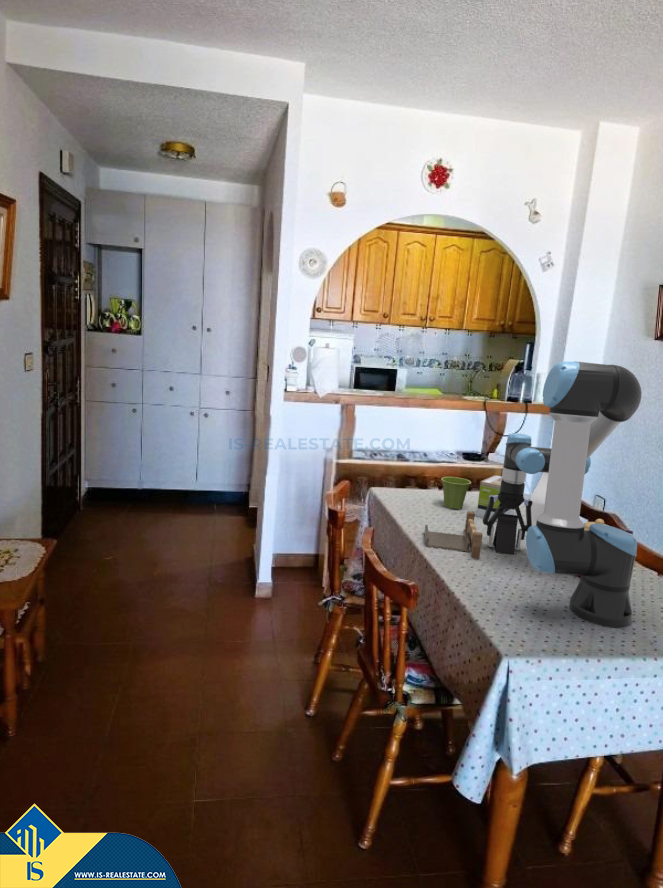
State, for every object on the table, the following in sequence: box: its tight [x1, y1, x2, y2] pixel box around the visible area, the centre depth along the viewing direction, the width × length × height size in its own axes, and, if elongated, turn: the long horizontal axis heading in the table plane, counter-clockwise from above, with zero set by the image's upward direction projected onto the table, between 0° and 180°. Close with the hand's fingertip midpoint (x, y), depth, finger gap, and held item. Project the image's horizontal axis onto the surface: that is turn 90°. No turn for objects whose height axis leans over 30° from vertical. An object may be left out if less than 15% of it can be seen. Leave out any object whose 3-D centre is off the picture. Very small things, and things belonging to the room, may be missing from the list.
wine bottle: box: [525, 472, 548, 526], centre depth 223 cm, size 10×10×30 cm
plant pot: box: [441, 476, 472, 510], centre depth 248 cm, size 12×12×11 cm
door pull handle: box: [464, 511, 483, 560], centre depth 205 cm, size 25×2×8 cm, turn 173°
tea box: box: [476, 474, 515, 523], centre depth 240 cm, size 15×10×15 cm, turn 144°
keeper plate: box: [424, 524, 470, 553], centre depth 206 cm, size 14×14×3 cm
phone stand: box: [492, 514, 519, 556], centre depth 203 cm, size 9×6×12 cm, turn 172°
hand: (503, 546), depth 204 cm, fingers open, 8 cm apart
